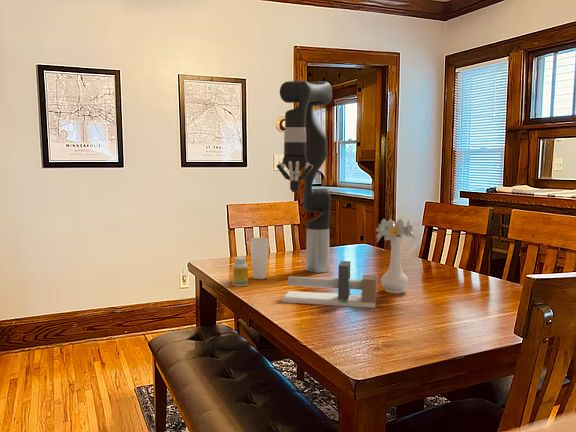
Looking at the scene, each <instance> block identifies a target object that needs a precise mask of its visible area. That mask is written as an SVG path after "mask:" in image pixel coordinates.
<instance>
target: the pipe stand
mask: <svg viewBox="0 0 576 432" xmlns="http://www.w3.org/2000/svg"><path fill="white" fill-rule="evenodd" d="M287 285H288V286H289V287H306V288H309V287H310V288H322V289H324V288H325V289H338V278H333V277H332V278H329V277H314V276H313V277H312V276H311V277H309V276H290V275H289V276H288V278H287ZM288 286H287V287H288ZM348 290H350V291H351V290H359V291H361V294H353V293H352V294H351V293H350V294H349V298H348V300H345V299H338V293H333V292H331V293H330V292H313V291H297V290H289V291H288V292H287V293H286V294H285V295H284V297H283V298H282V299H281V302H282V303H289V304H291V303H292V304H309V305H322V306H323V305H325V306H342V307H352V308H353V307H356V308H372V309H373V308H374V309H375V308H376V301H377V299H376V298H377V275H373V274H371V275H370V274H363V276H362V279H351V278H350V279H349V286H348Z"/></svg>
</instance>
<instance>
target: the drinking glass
mask: <svg viewBox="0 0 576 432" xmlns="http://www.w3.org/2000/svg"><path fill="white" fill-rule="evenodd" d="M249 243H250V257H251V258H250V259H251V274H252V276H251V277H252V278H253V279H254V280H265V279H266V278H267V273H268V272H267V271H268V260H269V246H270V245H269V238H267V237H251V238H250V242H249Z"/></svg>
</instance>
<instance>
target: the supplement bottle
mask: <svg viewBox="0 0 576 432" xmlns="http://www.w3.org/2000/svg"><path fill="white" fill-rule="evenodd" d="M246 262H247V258H246V257H243V256H239V257H234V263H233V265H232V285H233V286H235V287H244V286H248V284H249V276H248V275H249V266H248V263H246Z"/></svg>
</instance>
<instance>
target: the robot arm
mask: <svg viewBox="0 0 576 432" xmlns="http://www.w3.org/2000/svg"><path fill="white" fill-rule="evenodd" d="M279 96H280V98H281V100H282V101H283V102H285V103H289V104H291V103H293V104H295V103H298V105H297V106H296V108H295V107H294V109H293V108H292V109H288V110H287V111H285V115H284V119H285V120H284V134H283V136H284V137H283V140H284V141H283V143H284V144H283V157H282V161H281V162H280V163H279V164H277V165H276V168H277V169H278V171H279V172H280V174H281V175H282V176H283V178H285V180H288V181H289V190H290V191H291V193H297V192H298V191H299V189H300V182H301V180H304V181H303V197H302V205H303V209H304V211H306V212H310V213H311V212H321V213H320V215H318V216H317V217H315V218H312V219H310V220H307V221H306V246H305V247H306V251H305V253H306V256H305V257H306V258H305V261H306V262H305V264H306V265H305V270H306V271H307V272H309V273H327V272H329V271H330V223H331V222H330V218H331V204H332V194H331V191H330V189H329V188H314V187H313V183H314V180H315V178H316V175H317V174H318V172H319V170H320V169H321V168H322V165H323V164H324V162H325V160H326V158H327V156H328V138H327V135H326V133H325V131H324V130H323V128H322V126H321V125H320V124H319V122H318V120H317V118H316V116H315V113H314V107H315V106H318V107H319V106H327V105H329V104H330V103H331V101H332V100H333V88H332V85H331V84H330V83H329V82H328V81H326V80H325V81H324V80H323V81H310V82H308V81H307V80H296V81H295V80H294V81H293V80H291V81H290V80H288V81H284V82H283V83H282V84H281V85H280V88H279ZM285 168H286V169H287V170H288V172H287V171H286V169H285ZM302 170H304V171H303V173H302V174H301V171H302ZM288 173H289V174H288Z"/></svg>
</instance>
